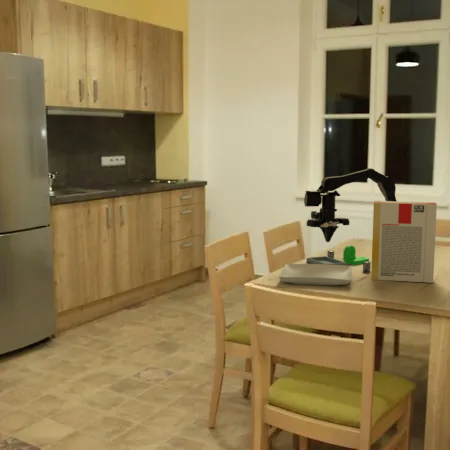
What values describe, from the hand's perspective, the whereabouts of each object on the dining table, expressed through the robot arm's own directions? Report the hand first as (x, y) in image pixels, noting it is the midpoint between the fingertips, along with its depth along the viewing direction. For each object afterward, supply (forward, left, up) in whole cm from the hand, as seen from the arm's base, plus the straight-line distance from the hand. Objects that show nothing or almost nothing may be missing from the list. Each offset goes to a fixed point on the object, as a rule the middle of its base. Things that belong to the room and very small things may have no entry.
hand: (327, 242), depth 265 cm
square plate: (+20, +22, -11) cm, 32 cm away
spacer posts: (-13, +5, -10) cm, 18 cm away
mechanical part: (-15, +2, -10) cm, 18 cm away
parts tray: (+1, 0, -10) cm, 10 cm away
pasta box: (-11, +36, -10) cm, 39 cm away
